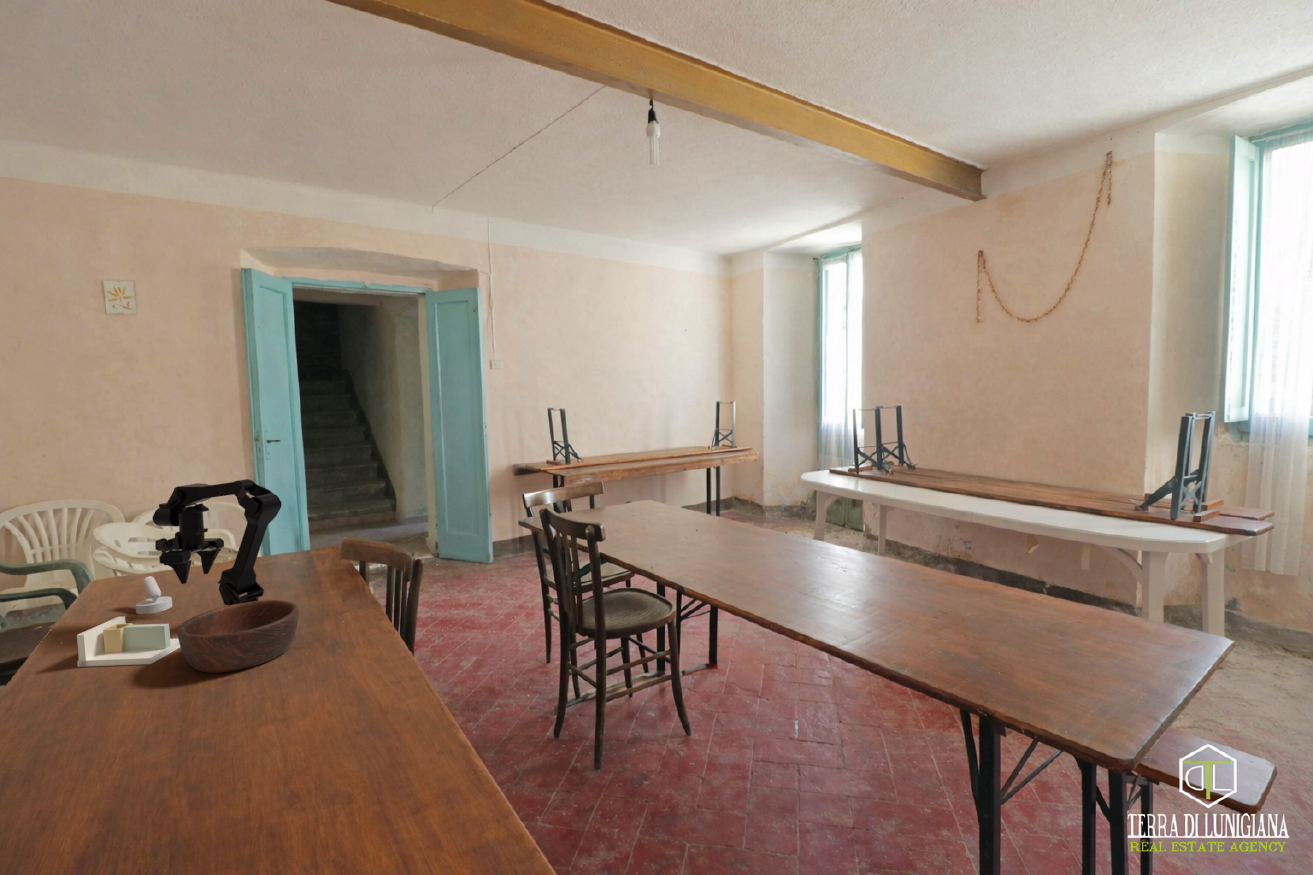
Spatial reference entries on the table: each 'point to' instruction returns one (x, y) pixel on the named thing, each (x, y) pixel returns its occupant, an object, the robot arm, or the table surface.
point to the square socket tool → (136, 637)
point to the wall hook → (153, 598)
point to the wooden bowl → (238, 635)
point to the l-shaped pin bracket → (95, 655)
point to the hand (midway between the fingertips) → (195, 578)
